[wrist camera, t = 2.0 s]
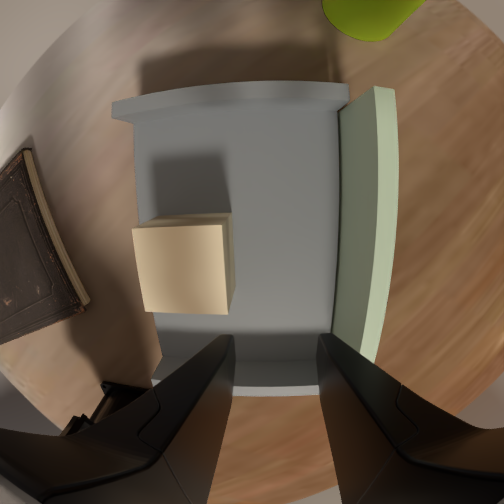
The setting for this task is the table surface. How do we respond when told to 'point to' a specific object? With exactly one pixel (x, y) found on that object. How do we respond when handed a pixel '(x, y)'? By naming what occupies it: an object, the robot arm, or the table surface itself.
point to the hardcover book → (32, 257)
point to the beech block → (186, 263)
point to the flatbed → (249, 216)
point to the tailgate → (366, 218)
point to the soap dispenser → (369, 16)
